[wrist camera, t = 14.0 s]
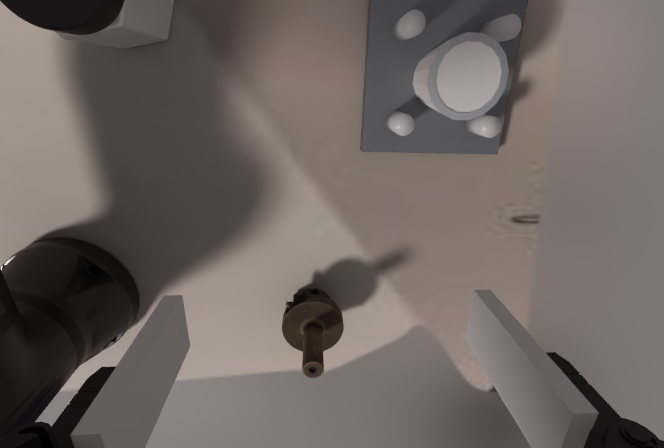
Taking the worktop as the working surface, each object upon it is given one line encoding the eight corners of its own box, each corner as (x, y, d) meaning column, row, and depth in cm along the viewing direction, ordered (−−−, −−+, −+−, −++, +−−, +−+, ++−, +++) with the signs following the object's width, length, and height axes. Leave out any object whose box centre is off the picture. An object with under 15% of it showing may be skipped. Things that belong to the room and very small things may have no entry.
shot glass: (484, 51, 35) (523, 44, 29) (459, 121, 38) (490, 129, 31) (419, 32, 34) (444, 21, 28) (398, 105, 37) (416, 110, 30)
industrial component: (351, 309, 48) (364, 378, 36) (307, 335, 49) (305, 410, 38) (311, 257, 45) (311, 316, 33) (265, 286, 46) (250, 352, 35)
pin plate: (360, 149, 40) (367, 158, 35) (369, -9, 34) (379, -25, 29) (491, 151, 41) (516, 161, 36) (520, -1, 35) (555, -16, 30)
